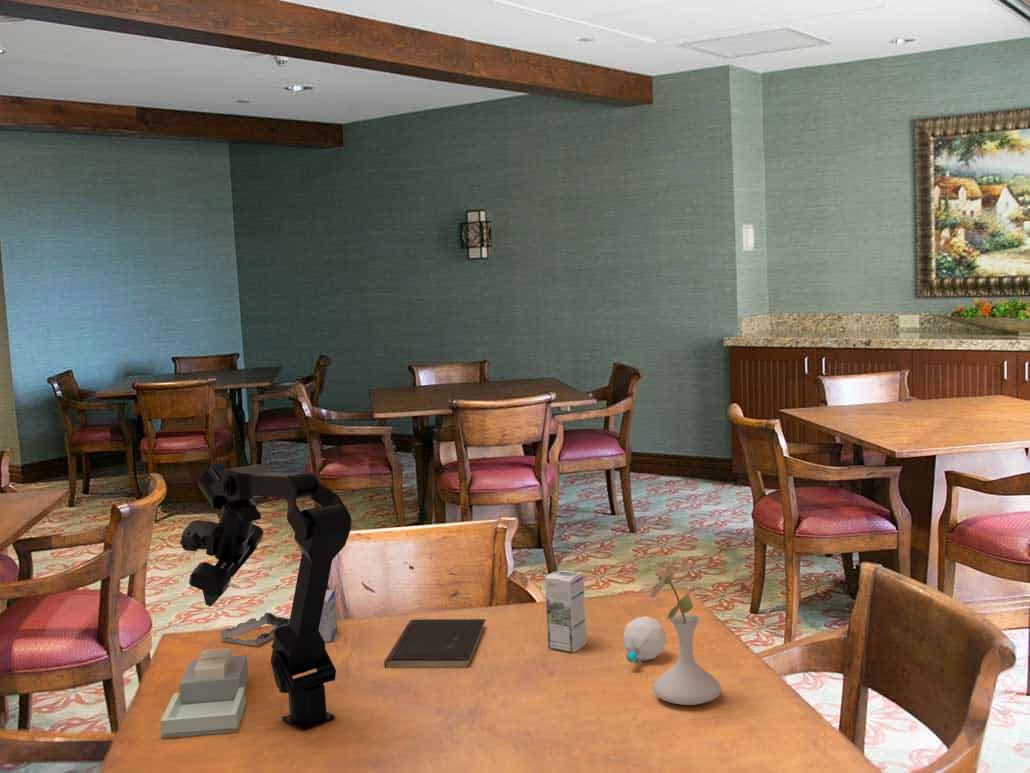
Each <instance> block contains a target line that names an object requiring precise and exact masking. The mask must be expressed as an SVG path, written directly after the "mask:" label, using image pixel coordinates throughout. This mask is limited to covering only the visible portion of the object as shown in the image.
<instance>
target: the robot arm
mask: <svg viewBox="0 0 1030 773" xmlns="http://www.w3.org/2000/svg"><path fill="white" fill-rule="evenodd" d="M197 483H198V487H199V488H200V490H201V491H202V493H203V494H204V496H205V497H206V498H207V500H208V501H209V503H210V505H211V506H212V507H213V509H217V510H221V512H220V515H219V519H218V522H215V521H212V520H211V521H210V520H199V519H196V520H192V521H191V522H190V523H189V524H188V525H187V527H185V529H184V530H182V534H181V536H180V538H181V540H180V541H179V543H180V545H181V546H182V547H181V548H182V549H183V550H184V551H186V552H197V551H198V550H205V555H208V556H210V557H213V556H214V557H215V559H216V560H217V562H216V564H215V565H214V564H211V563H208V562H206V561H204V562H200V563H198V565H197V566H196V567H195V569H194V570H193V571H192V572H191V574H190V576H189V581H188V583H189V586H190V587H193V588H196V589H199V590H200V591H202V593H203V594H202V595H203V599H204V604H205V605H206V606H208V607H213V605H214V604H215V603H216V602H217V601H218V599H219V598H221V596H222V595H224V594H225V592H226V590H227V589H228V588H229V587H230V582H231V580H232V577H234V576H235V575H236V574H237V572H238V571H239V570H240V569H241V568H242V567H243V565H244V564H245V563H246V561H247V560H248V559H249V558H250V557H251V555H253V553H255V551H256V549H257V548H258V546H259V544H260V543H261V542H262V540H263V536H264V533H265V532H264V531H263V529H262V527H261V526H259V525H257V524H254V523H253V522H254V521H259V520H261V519H262V516H261V513H260V511H259V510H258V508H257V505H256V503H255V501H254V500H253V499H255V498H260V497H261V498H262V497H267V498H268V497H269V498H281V499H282V498H284V499H285V501H286V503H287V512H286V520H287V522H288V523H289V526H290V527H291V528H292V530H293V532H294V541H295V543H296V544H297V546H298V547H299V550H300V551H301V552H300V553H301V556H300V562H299V568H298V572H297V573H298V574H297V578H296V583H295V588H294V589H295V590H294V595H293V601H292V605H291V611H290V616H289V619H290V621H289V624H288V625H285V626H282V627H278V628H276V627H275V628H276V630H275V632H274V638H273V642H272V644H271V646H270V647H271V649H272V651H271V656H270V664H271V668H272V672H273V677H274V681H275V685H276V687H277V689H278V690H279V691H278V692H279V693H281V694H288V708H289V714H287V715H283V716H282V717H281V719H282V720H281V721H283V722H285V723H286V724H289V725H291V726H292V727H295V728H297V729H298V730H301V731H303V730H307V729H311V728H313V727H316V726H319V725H321V724H323V723H327V722H330V721H332V720H334V719H336V717H335V714H334V713H331V712H329V711H327V700H326V686H325V685H324V684H326V683H328V682H329V683H330V682H334V681H336V675H337V669H336V667H335V665H334V663H333V661H332V659H331V657H330V655H329V654H328V652H327V649H326V642H325V641H324V639H323V637H322V636H321V634H320V632H319V626H320V621H321V616H322V611H323V606H324V600H325V595H326V590H328V584H329V580H330V575H331V570H332V565H333V564H332V563H333V560H334V559H335V557H336V556H337V555H338V554H339V553H340V552H341V551H342V550H343V548H344V547H345V546H346V545H347V541H348V538H349V536H350V534H351V528H352V516H351V514H350V512H349V510H348V509H347V508H348V507H346V505H345V503H344V502H343V501H342V498H340V496H339V495H338V494H337V493H336V492H335V491H333V490H331V489H330V488H329V487H326V486H325V485H323V484H322V483H321V482H320V481H319V479H318V477H317V476H316V474H315V473H314V472H309V471H303V472H284V471H283V472H281V471H280V472H279V471H278V472H277V471H270V468H269V467H267V466H265V465H262V464H259V463H258V464H257V463H256V464H251V465H246V466H241V467H240V466H239V467H233V468H227V466H226V464H225V463H224V462H223V461H221V462H220V461H219V462H214V463H212V464H211V467H210V468H209V469H207V470H205V471H204V472H203V473H202V474H201V476H200V477H199V478H198V481H197ZM309 497H310V498H311V499H312V501H314V503H315V502H316V503H317V504H319V505H320V506H317V507H316V506H315V507H311V508H306V509H303V510H300V508H299V507H298V504H297V499H303V498H309ZM313 670H316V671H313ZM310 671H313V672H310ZM307 672H310V673H307ZM304 673H306V674H304ZM300 674H304V675H301V676H297V675H300ZM294 676H297V677H295V678H293V677H294Z"/></svg>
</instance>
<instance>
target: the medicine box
mask: <svg viewBox="0 0 1030 773" xmlns="http://www.w3.org/2000/svg"><path fill="white" fill-rule="evenodd" d="M338 627H339V626H338V615H337V601H336V590H335V589H327V590H326V595H325V600H324V606H323V611H322V616H321V621H320V626H319V632H320V634H321V636H322V637H323V639H324V641H325V643H331V642H332V641H333V639H334V637H335V635H336V633H337V631H338Z"/></svg>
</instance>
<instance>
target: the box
mask: <svg viewBox="0 0 1030 773" xmlns="http://www.w3.org/2000/svg"><path fill="white" fill-rule="evenodd" d="M246 705H247V701H246V688H245V687H241V688H239V689H238V692H237V695H236V698H235V700H232V701H220V702H209V703H197V704H185V705H181V695H180V692H173V694H172V696H171V699H170V700H169V702H168V704H167V707H166V709H165V710H164V713H163V714H162V717H161V719H160V722H159V723H160V733H161V734H160V735H161V739H171V738H186V737H196V736H197V737H198V736H207V735H216V734H217V735H218V734H219V735H221V734H231V733H238V730H239V727H240V724H241V721H242V718H243V714H244V711H245V709H246Z"/></svg>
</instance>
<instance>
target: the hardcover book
mask: <svg viewBox="0 0 1030 773" xmlns="http://www.w3.org/2000/svg"><path fill="white" fill-rule="evenodd" d="M485 622H486V619H485V618H481V619H480V618H477V619H476V618H474V619H473V618H471V619H470V618H468V619H467V618H466V619H465V618H464V619H463V618H461V619H460V618H459V619H456V618H455V619H444V618H443V619H441V618H440V619H439V618H438V619H433V618H432V619H410V620H409V621H408V623H407V625H406V626H405V628H404V629H403V631H402V633H401V634H400V636H399V637H398V640H397V641H396V643H395V644H394V646H393V647H392V649H391V650H390V652H389V654H388V655H387V657H386V658H385V660H384V668H385V669H386V668H388V669H389V667H390V669H391V668H395V669H396V668H397V667H398V669H399V667H400V668H401V669H402V668H403V669H404V667H408V668H411V669H412V668H416V667H418V668H420V669H421V668H422V669H423V668H426V669H427V668H468V666H469V664H470V662H471V660H472V657H473V654H474V652H475V649H476V647H477V645H478V642H479V640H480V637H481V636H482V633H483V630H484V628H485V626H484V625H485Z"/></svg>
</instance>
